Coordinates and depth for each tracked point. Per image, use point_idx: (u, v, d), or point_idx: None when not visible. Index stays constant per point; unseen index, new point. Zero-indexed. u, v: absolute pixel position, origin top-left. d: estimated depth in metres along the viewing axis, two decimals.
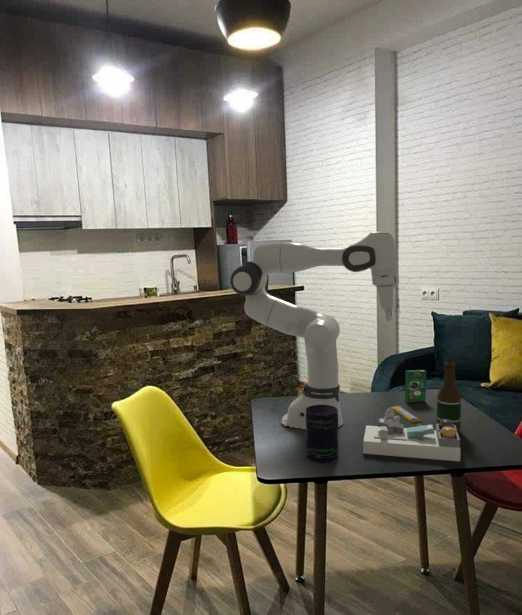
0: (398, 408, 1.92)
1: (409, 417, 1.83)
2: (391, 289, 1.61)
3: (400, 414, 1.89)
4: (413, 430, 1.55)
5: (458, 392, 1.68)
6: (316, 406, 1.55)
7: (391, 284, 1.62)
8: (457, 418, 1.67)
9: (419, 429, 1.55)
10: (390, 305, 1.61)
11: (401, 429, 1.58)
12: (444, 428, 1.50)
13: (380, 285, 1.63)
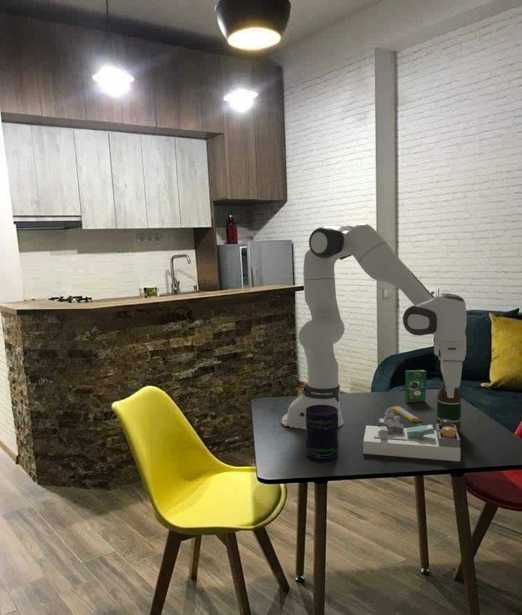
0: (398, 408, 1.92)
1: (410, 417, 1.83)
2: (460, 366, 1.38)
3: (400, 414, 1.88)
4: (413, 430, 1.55)
5: (458, 392, 1.68)
6: (316, 406, 1.55)
7: (460, 360, 1.39)
8: (457, 418, 1.67)
9: (419, 429, 1.55)
10: (457, 385, 1.38)
11: (401, 429, 1.58)
12: (444, 428, 1.50)
13: (447, 360, 1.40)
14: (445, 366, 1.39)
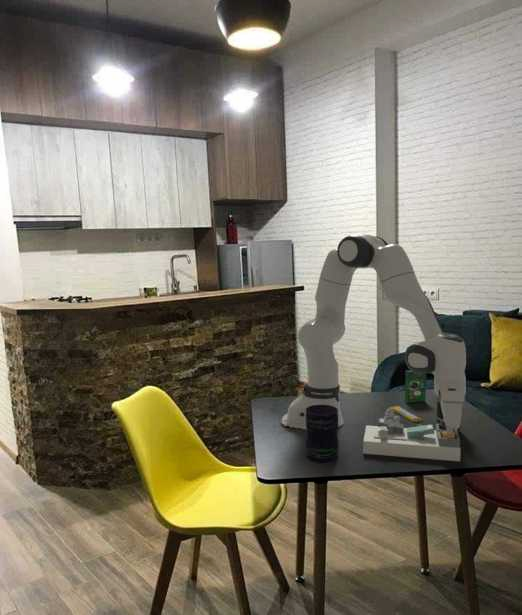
0: (398, 408, 1.92)
1: (411, 417, 1.83)
2: (460, 408, 1.39)
3: (401, 414, 1.88)
4: (413, 430, 1.55)
5: None
6: (316, 406, 1.55)
7: (460, 401, 1.40)
8: None
9: (419, 429, 1.55)
10: (457, 426, 1.40)
11: (401, 429, 1.58)
12: (444, 432, 1.50)
13: (447, 401, 1.41)
14: (445, 407, 1.40)
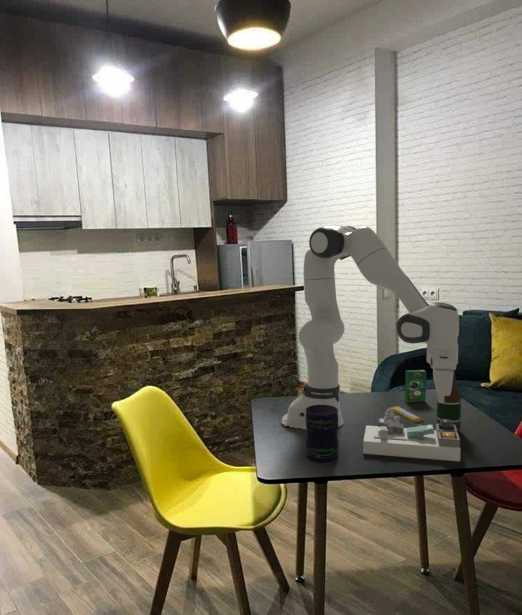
0: (398, 408, 1.92)
1: (412, 417, 1.83)
2: (451, 375, 1.40)
3: (401, 414, 1.88)
4: (413, 430, 1.55)
5: (458, 392, 1.68)
6: (316, 406, 1.55)
7: (451, 369, 1.41)
8: (457, 418, 1.67)
9: (419, 429, 1.55)
10: (448, 393, 1.41)
11: (401, 429, 1.58)
12: (444, 434, 1.50)
13: (438, 368, 1.42)
14: (437, 374, 1.41)
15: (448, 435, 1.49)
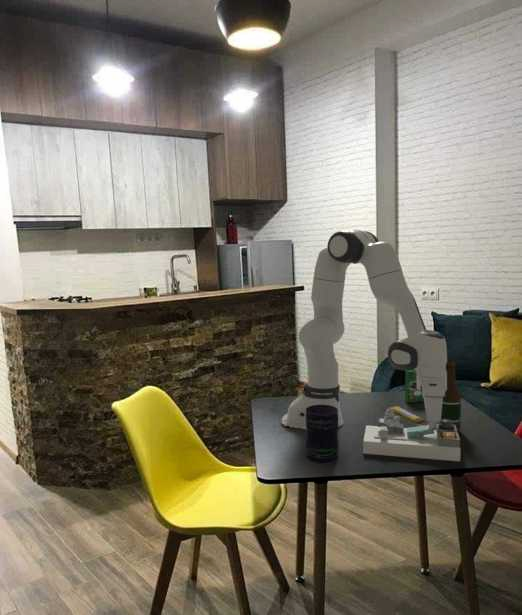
0: (398, 408, 1.92)
1: (412, 417, 1.83)
2: (440, 402, 1.44)
3: (401, 414, 1.88)
4: (413, 430, 1.55)
5: (458, 392, 1.68)
6: (316, 406, 1.55)
7: (440, 396, 1.45)
8: (457, 418, 1.67)
9: (419, 429, 1.55)
10: (437, 420, 1.44)
11: (401, 429, 1.58)
12: (444, 434, 1.50)
13: (428, 396, 1.46)
14: (426, 402, 1.45)
15: (448, 435, 1.49)
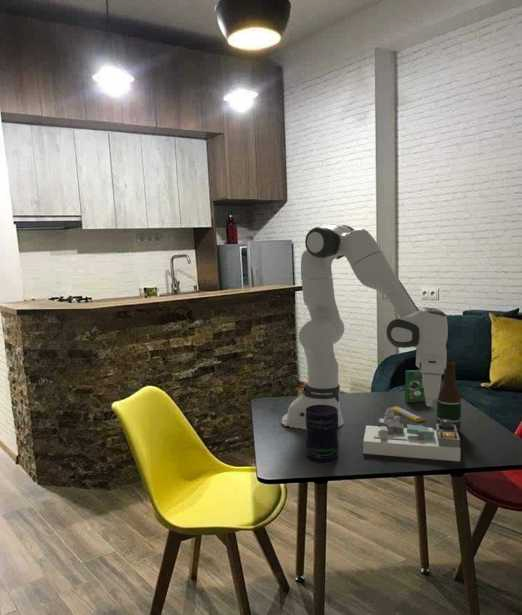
0: (398, 408, 1.92)
1: (413, 417, 1.83)
2: (439, 379, 1.44)
3: (402, 414, 1.88)
4: (414, 428, 1.55)
5: (458, 392, 1.68)
6: (316, 406, 1.55)
7: (439, 373, 1.44)
8: (457, 418, 1.67)
9: (420, 429, 1.55)
10: (435, 397, 1.44)
11: (401, 429, 1.58)
12: (444, 434, 1.50)
13: (427, 372, 1.45)
14: (425, 379, 1.45)
15: (448, 435, 1.49)
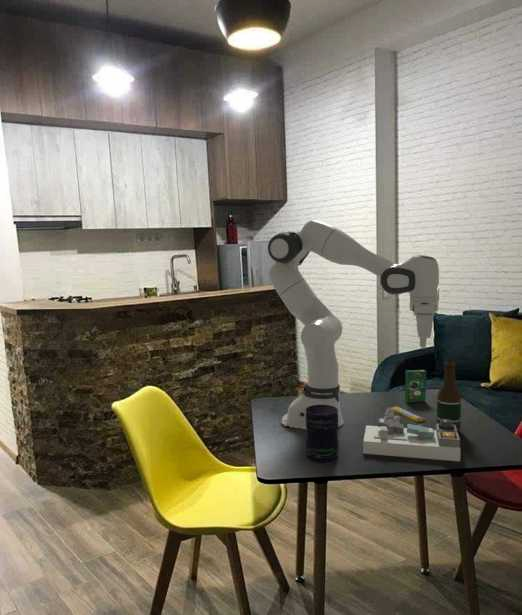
0: (398, 409, 1.91)
1: (414, 417, 1.83)
2: (431, 319, 1.53)
3: None
4: (414, 428, 1.55)
5: (458, 392, 1.68)
6: (316, 406, 1.55)
7: (431, 313, 1.54)
8: (457, 418, 1.67)
9: (420, 429, 1.55)
10: (428, 335, 1.53)
11: (401, 429, 1.58)
12: (444, 434, 1.50)
13: (419, 313, 1.55)
14: (418, 318, 1.54)
15: (448, 435, 1.49)
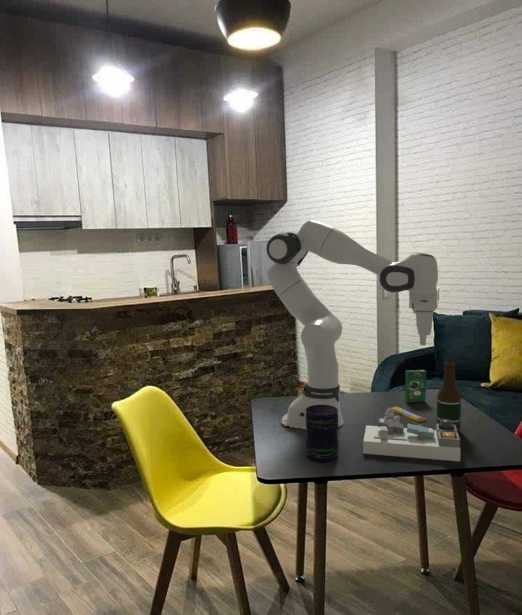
0: (398, 409, 1.91)
1: (414, 417, 1.83)
2: (431, 316, 1.53)
3: None
4: (414, 428, 1.55)
5: (458, 392, 1.68)
6: (316, 406, 1.55)
7: (431, 310, 1.54)
8: (457, 418, 1.67)
9: (420, 429, 1.55)
10: (428, 332, 1.54)
11: (401, 429, 1.58)
12: (444, 434, 1.50)
13: (419, 310, 1.55)
14: (417, 316, 1.54)
15: (448, 435, 1.49)
